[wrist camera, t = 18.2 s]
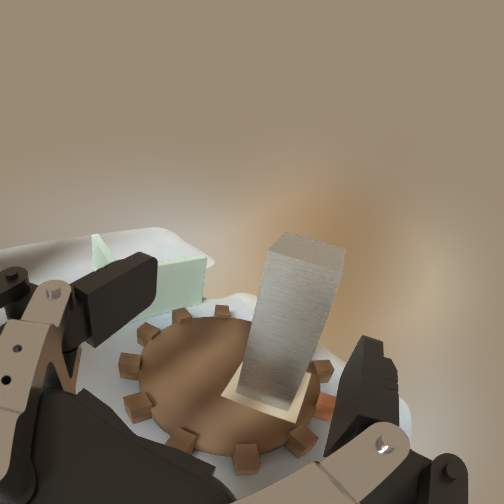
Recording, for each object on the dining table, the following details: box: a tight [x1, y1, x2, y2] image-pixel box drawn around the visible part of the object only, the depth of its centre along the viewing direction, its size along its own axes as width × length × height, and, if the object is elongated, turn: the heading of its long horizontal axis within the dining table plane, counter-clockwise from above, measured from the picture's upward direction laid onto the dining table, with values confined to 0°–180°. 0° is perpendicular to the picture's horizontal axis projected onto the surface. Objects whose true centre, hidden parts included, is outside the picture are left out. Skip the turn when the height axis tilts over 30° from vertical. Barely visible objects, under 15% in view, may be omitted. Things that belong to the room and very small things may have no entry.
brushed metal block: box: [236, 232, 346, 411], centre depth 23 cm, size 5×5×14 cm
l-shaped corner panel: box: [92, 234, 207, 323], centre depth 38 cm, size 12×12×8 cm
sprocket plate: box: [118, 305, 336, 475], centre depth 27 cm, size 22×22×2 cm
